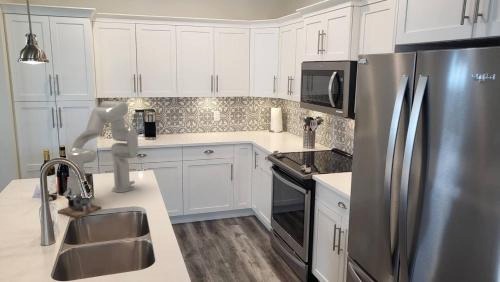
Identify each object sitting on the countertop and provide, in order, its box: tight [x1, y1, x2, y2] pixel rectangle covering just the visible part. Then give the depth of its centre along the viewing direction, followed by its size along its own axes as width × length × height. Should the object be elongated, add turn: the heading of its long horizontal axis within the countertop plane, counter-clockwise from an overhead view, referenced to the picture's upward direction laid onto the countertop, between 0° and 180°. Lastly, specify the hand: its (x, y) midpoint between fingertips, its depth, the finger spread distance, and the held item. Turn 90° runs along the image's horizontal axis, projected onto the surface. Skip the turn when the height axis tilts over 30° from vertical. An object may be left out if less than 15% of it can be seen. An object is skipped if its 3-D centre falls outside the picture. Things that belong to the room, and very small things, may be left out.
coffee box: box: [75, 172, 95, 203], centre depth 220 cm, size 9×6×16 cm
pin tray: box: [57, 201, 102, 219], centre depth 205 cm, size 16×16×4 cm
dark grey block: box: [71, 196, 89, 211], centre depth 205 cm, size 5×8×6 cm, turn 64°
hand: (79, 203), depth 205 cm, fingers open, 9 cm apart
